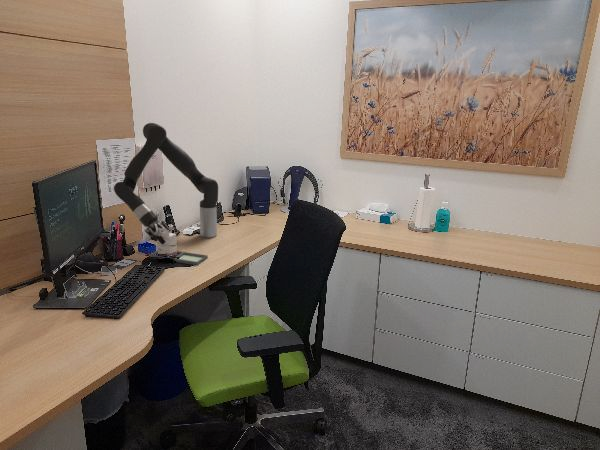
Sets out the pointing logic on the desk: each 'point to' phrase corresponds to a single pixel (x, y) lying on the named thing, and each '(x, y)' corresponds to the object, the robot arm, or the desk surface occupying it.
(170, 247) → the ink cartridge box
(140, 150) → the robot arm
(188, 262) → the jack panel
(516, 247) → the desk surface
